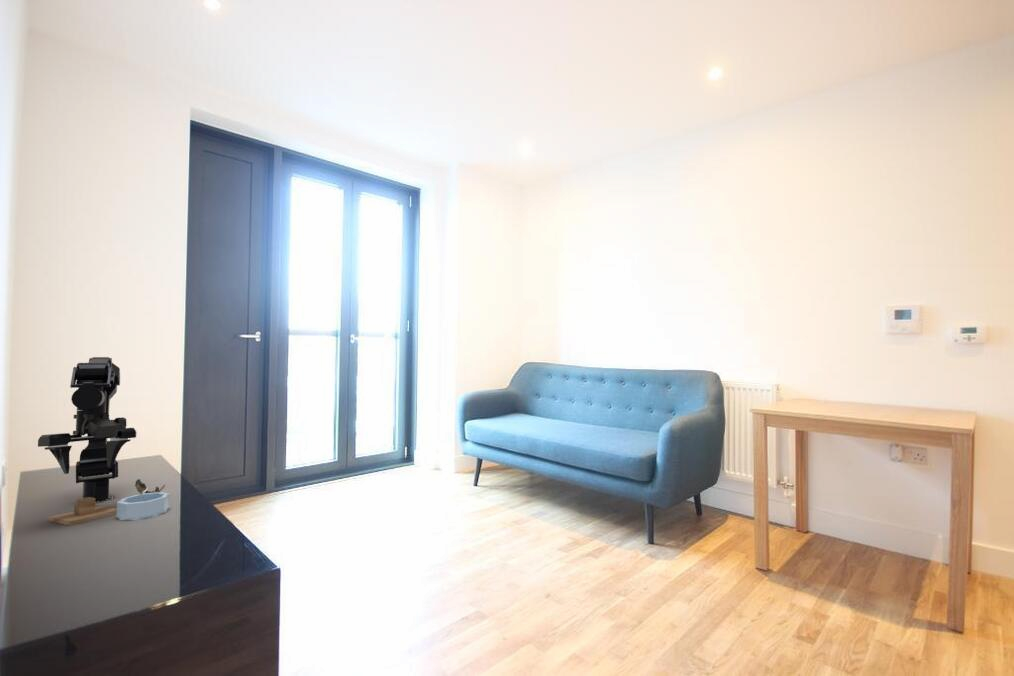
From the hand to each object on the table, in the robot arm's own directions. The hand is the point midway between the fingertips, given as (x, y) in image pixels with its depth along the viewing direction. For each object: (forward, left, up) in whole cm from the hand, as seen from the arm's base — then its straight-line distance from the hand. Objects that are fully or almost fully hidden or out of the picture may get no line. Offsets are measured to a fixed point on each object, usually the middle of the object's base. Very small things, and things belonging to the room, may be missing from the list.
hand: (88, 470), depth 119 cm
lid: (-1, 0, -12) cm, 12 cm away
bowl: (+11, +7, -12) cm, 18 cm away
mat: (-1, 0, -12) cm, 12 cm away
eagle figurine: (-1, +13, -13) cm, 18 cm away
